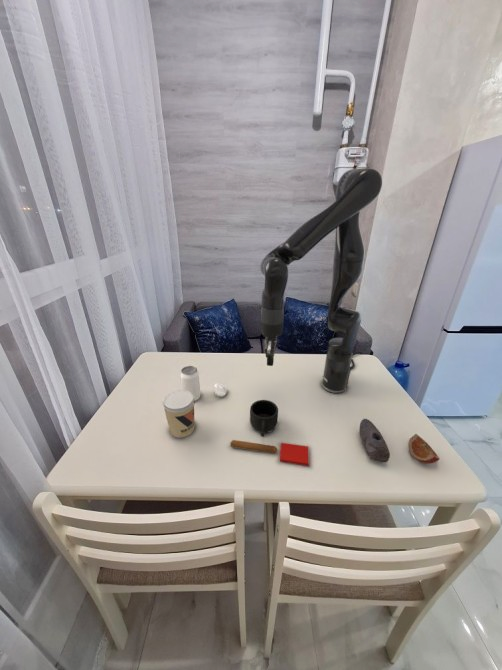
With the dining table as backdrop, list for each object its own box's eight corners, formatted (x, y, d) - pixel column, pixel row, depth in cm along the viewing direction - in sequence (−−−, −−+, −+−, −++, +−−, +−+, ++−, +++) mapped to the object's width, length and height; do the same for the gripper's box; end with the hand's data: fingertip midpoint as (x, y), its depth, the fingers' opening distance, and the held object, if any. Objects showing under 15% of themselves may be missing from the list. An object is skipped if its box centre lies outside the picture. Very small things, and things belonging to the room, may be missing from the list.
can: (196, 403, 96) (194, 376, 91) (180, 400, 98) (176, 373, 92) (203, 392, 102) (200, 366, 97) (187, 390, 103) (184, 364, 98)
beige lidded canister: (182, 444, 79) (178, 413, 74) (161, 431, 84) (155, 402, 79) (203, 425, 87) (200, 396, 81) (182, 414, 91) (178, 386, 86)
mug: (251, 414, 91) (251, 398, 88) (277, 416, 91) (278, 400, 88) (247, 442, 80) (247, 424, 77) (277, 444, 80) (278, 426, 77)
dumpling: (213, 390, 104) (214, 381, 103) (226, 392, 105) (227, 383, 104) (211, 398, 97) (213, 389, 96) (225, 400, 98) (227, 391, 97)
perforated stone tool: (353, 427, 87) (357, 410, 84) (369, 428, 86) (374, 411, 83) (368, 467, 73) (374, 449, 70) (388, 468, 73) (394, 450, 70)
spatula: (228, 453, 77) (228, 448, 76) (232, 437, 82) (232, 433, 81) (308, 466, 73) (309, 461, 72) (307, 448, 79) (308, 443, 78)
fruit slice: (401, 445, 80) (406, 433, 78) (423, 444, 80) (428, 432, 78) (418, 469, 73) (423, 457, 70) (442, 469, 73) (448, 456, 71)
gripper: (282, 328, 79) (279, 376, 86) (284, 312, 90) (282, 356, 98) (257, 326, 80) (256, 374, 88) (263, 311, 92) (262, 354, 99)
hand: (270, 364), depth 93 cm, fingers closed
